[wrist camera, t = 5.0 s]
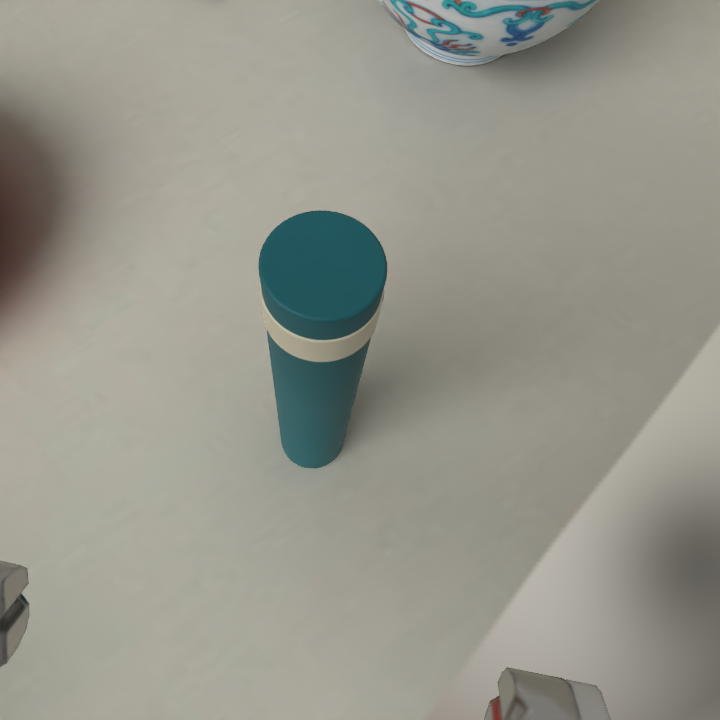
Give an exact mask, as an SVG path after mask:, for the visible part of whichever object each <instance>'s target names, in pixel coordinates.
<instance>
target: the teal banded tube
mask: <svg viewBox="0 0 720 720" xmlns="http://www.w3.org/2000/svg"><path fill="white" fill-rule="evenodd" d="M259 275H260V282H259V292H260V300H261V307H262V315H263V320H264V324H265V326H266V329H267V335H268V343H269V350H270V358H271V366H272V373H273V381H274V388H275V396H276V403H277V411H278V418H279V426H280V433H281V441H282V446H283V449H284V451H285V453H286V455H287V456H288V457H289V458H290V459H291V460H292V461H293V462H294V463H296V464H298V465H300V466H302V467H306V468H318V467H322V466H325V465H327V464H329V463H330V462H332V461H333V460H334V459H335V458H336V457H337V456H338V454H339V452H340V451H341V448H342V445H343V441H344V438H345V434H346V430H347V426H348V422H349V419H350V415H351V411H352V407H353V403H354V400H355V396H356V392H357V388H358V384H359V380H360V377H361V373H362V369H363V365H364V361H365V358H366V354H367V350H368V346H369V342H370V339H371V335H372V334H373V332H374V330H375V327H376V324H377V320H378V317H379V313H380V309H381V306H382V302H383V297H384V285H385V281H386V277H387V261H386V256H385V253H384V250H383V248H382V246H381V244H380V242H379V241H378V239H377V238H376V236H375V235H374V234H373V233H372V232H371V231H370V230H369V229H368V228H367V227H366V226H365V225H363V224H362V223H361V222H359V221H358V220H356V219H354V218H352V217H349V216H347V215H344V214H341V213H337V212H331V211H311V212H305V213H302V214H298V215H296V216H293V217H291V218H289V219H287V220H286V221H284V222H282V223H281V224H280V225H278V226H277V227H276V228H275V229H274V230H273V231H272V232H271V234H270V235H269V236H268V238H267V239H266V241H265V243H264V244H263V247H262V249H261V252H260V257H259Z"/></svg>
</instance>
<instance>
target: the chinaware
mask: <svg viewBox="0 0 720 720" xmlns="http://www.w3.org/2000/svg"><path fill="white" fill-rule="evenodd" d="M378 1H379V2H380V3H381V5H382V6H383V7H384V8H385V10H386V11H387V12H388V13H389V14H390V15H391V16H392V17H393V18H394V19H395V20H396V21H397V22H398V23H399V24H400V25H401V26H402V27H403V28H405V31H406V33H407V35H408V36H409V38H410V39H411V41H412V42H413V43H414V44H415V45H416V46H417V47H418V48H419V49H421V50H422V51H423V52H425V53H426V54H428V55H429V56H431V57H433V58H435V59H438V60H440V61H443V62H446V63H450V64H455V65H463V66H473V65H481V64H485V63H488V62H491V61H493V60H495V59H497V58H499V57H500V56H502V55H504V54H509V53H514V52H517V51H521V50H524V49H527V48H530V47H532V46H535V45H537V44H540V43H542V42H544V41H546V40H548V39H550V38H552V37H553V36H555V35H557V34H559V33H560V32H562V31H563V30H565V29H566V28H568V27H569V26H571V25H572V24H573V23H575V22H576V21H577V20H579V19H580V18H581V17H582V16H583V15H585V14H586V13H587V12H588V11H589V10H590V9H591V8H592V7H594V6H595V5H596V4H597V3H598V2H599V1H600V0H378Z"/></svg>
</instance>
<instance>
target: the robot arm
mask: <svg viewBox="0 0 720 720" xmlns="http://www.w3.org/2000/svg"><path fill="white" fill-rule="evenodd" d="M28 584H29V583H28V571H27V568H25V567H23V566H21V565H16V564H12V563H8V562H4V561H0V667H1V666H2V665H4V664H6V663H7V662H8V660H9V659H10V658H11V656H12V655H13V653H14V652H15V651H16V649H17V648H18V646H19V644H20V642H21V639H22V637H23V635H24V633H25V631H26V628H27V624H28V619H29V603H28V602H27V600H26V599H25V598H24V596H23V595H22V594H21V592H22V591H23V590H24V589H25V587H26V586H27V585H28ZM498 688H499V695H500V696H498V697H496V698H495V699H493V700H491V701H490V703H489V705H488V708H487V711H486V714H485V718H484V720H611V719H610V716H609V714H608V710H607V708H606V705H605V702H604V699H603V696H602V693H601V691H600V690H599V689H598V687H597V686H595V685H590V684H586V683H581V682H576V681H571V680H564V679H562V678H558V677H553V676H548V675H543V674H538V673H533V672H528V671H523V670H517V669H513V668H508V667H507V668H506V669H505V670H504V671H503V672H502V674H501V676H500V678H499V681H498Z"/></svg>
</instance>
